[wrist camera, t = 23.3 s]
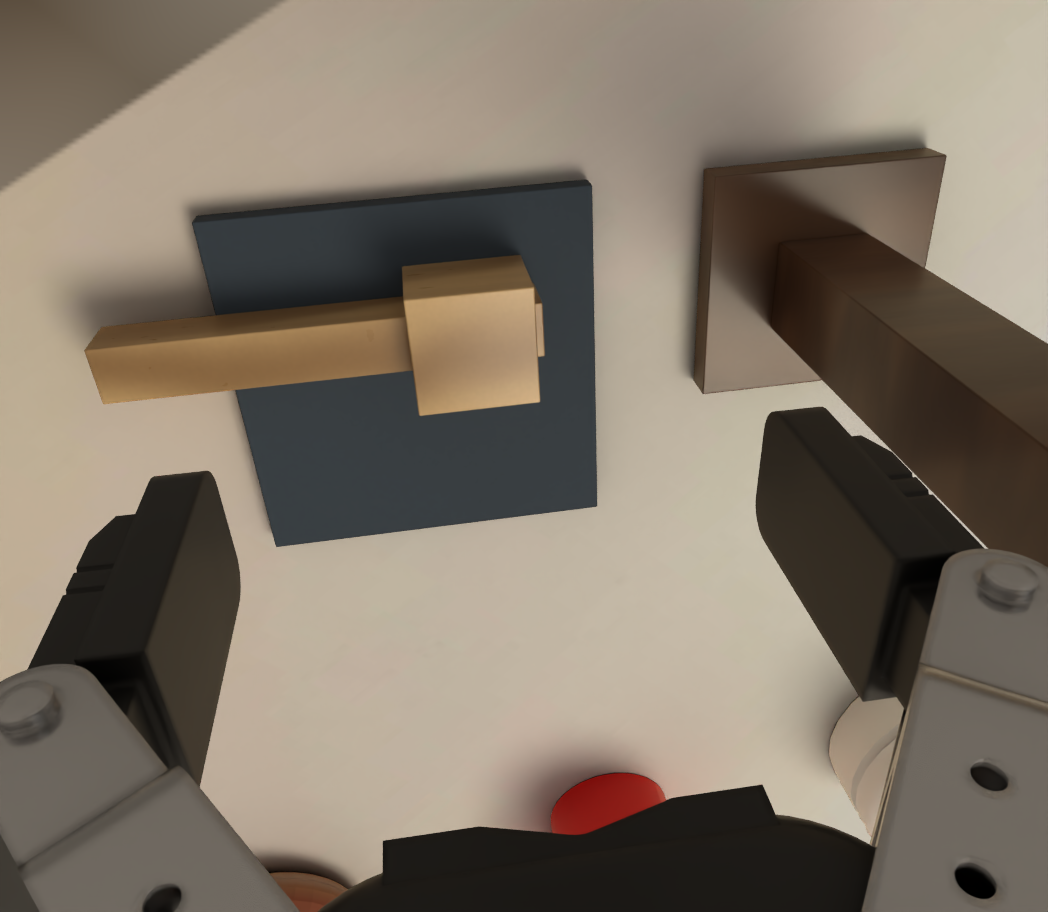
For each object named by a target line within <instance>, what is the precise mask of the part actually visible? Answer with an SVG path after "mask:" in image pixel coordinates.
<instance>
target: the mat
mask: <svg viewBox="0 0 1048 912" xmlns="http://www.w3.org/2000/svg"><path fill="white" fill-rule="evenodd" d="M192 225H193V229H194V233H195V236H196V240H197V244H198V248H199V252H200V256H201V259H202V263H203V267H204V271H205V275H206V279H207V283H208V286H209V290H210V294H211V298H212V302H213V306H214V310H215V313H216V315H224V314H234V313H244V312H254V311H264V310H274V309H284V308H293V307H303V306H313V305H323V304H333V303H343V302H353V301H362V300H372V299H382V298H392V297H402V296H403V281H402V267H403V266H411V265H421V264H432V263H442V262H452V261H462V260H472V259H482V258H493V257H503V256H513V255H521V257H522V260H523V262H524V265H525V267H526V269H527V272H528V274H529V276H530V279H531V281H532V283H534V285H535V287H536V290H537V292H538V294H539V297H540V299H541V301H542V305H543V326H544V347H545V356H541V357H538V367H539V386H540V402H538V403H529V404H520V405H511V406H502V407H494V408H485V409H476V410H467V411H458V412H450V413H441V414H432V415H423V416H420V415H419V412H418V405H417V398H416V390H415V383H414V376H413V371H404V372H395V373H385V374H376V375H367V376H358V377H349V378H340V379H330V380H321V381H312V382H303V383H294V384H284V385H275V386H266V387H257V388H248V389H239V390H236V394H237V398H238V402H239V406H240V410H241V414H242V417H243V421H244V425H245V429H246V433H247V437H248V441H249V444H250V448H251V452H252V456H253V460H254V464H255V467H256V471H257V475H258V479H259V483H260V487H261V491H262V494H263V498H264V502H265V506H266V510H267V514H268V518H269V521H270V525H271V529H272V533H273V537H274V541H275V545H276V547H280V546H288V545H296V544H304V543H312V542H320V541H328V540H336V539H344V538H352V537H360V536H367V535H375V534H383V533H391V532H399V531H407V530H415V529H423V528H431V527H439V526H447V525H455V524H463V523H471V522H478V521H486V520H494V519H502V518H510V517H518V516H526V515H534V514H542V513H550V512H558V511H566V510H574V509H581V508H589V507H596V506H597V465H596V402H595V339H594V277H593V214H592V185H591V184H590V183H589V181H588V180H578V181H567V182H556V183H546V184H535V185H524V186H513V187H503V188H492V189H481V190H470V191H460V192H449V193H438V194H427V195H416V196H406V197H395V198H384V199H373V200H363V201H352V202H341V203H330V204H320V205H309V206H298V207H287V208H277V209H266V210H255V211H244V212H234V213H223V214H212V215H201V216H197V217H196V218H195V219H194V221H193V222H192Z"/></svg>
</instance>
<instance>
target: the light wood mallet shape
mask: <svg viewBox="0 0 1048 912" xmlns="http://www.w3.org/2000/svg"><path fill="white" fill-rule="evenodd" d="M402 281H403V296H402V297H392V298H382V299H372V300H362V301H353V302H343V303H333V304H323V305H313V306H303V307H293V308H284V309H274V310H264V311H254V312H244V313H234V314H224V315H215V316H205V317H195V318H185V319H175V320H165V321H155V322H146V323H136V324H126V325H116V326H106V327H101V328H100V330H99V331H98V332H97V334H96V335H95V337H94V338H93V339H92V341H91V342H90V343H89V345H88V346H87V347H86V349H85V354H86V357H87V359H88V362H89V365H90V368H91V371H92V374H93V377H94V379H95V382H96V385H97V388H98V391H99V394H100V397H101V399H102V402H103V404H110V403H119V402H128V401H138V400H147V399H156V398H165V397H174V396H184V395H193V394H202V393H211V392H220V391H229V390H239V389H248V388H257V387H266V386H275V385H284V384H294V383H303V382H312V381H321V380H330V379H340V378H349V377H358V376H367V375H376V374H385V373H395V372H404V371H413V376H414V383H415V390H416V398H417V405H418V412H419V415H420V416H423V415H432V414H441V413H450V412H458V411H467V410H476V409H485V408H494V407H502V406H511V405H520V404H529V403H538V402H540V386H539V367H538V357H541V356H545V347H544V326H543V305H542V301H541V299H540V297H539V294H538V292H537V290H536V287H535V285H534V283H532V281H531V279H530V276H529V274H528V272H527V269H526V267H525V265H524V262H523V260H522V257H521V255H513V256H503V257H493V258H482V259H472V260H462V261H452V262H442V263H432V264H421V265H411V266H403V267H402Z"/></svg>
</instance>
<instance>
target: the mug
mask: <svg viewBox="0 0 1048 912" xmlns="http://www.w3.org/2000/svg"><path fill="white" fill-rule="evenodd" d="M664 801H666V798H665V795H664V793H663V791H662V790H661V788H660V787H659V786H658V785H657V784H656V783H655V782H653V781H652V780H650V779H648V778H646V777H643V776H640V775H636V774H629V773H614V774H606V775H601V776H598V777H594V778H591V779H588V780H586V781H584V782H581V783H580V784H578V785H576V786H574V787H573V788H571V789H570V790H569V791H567V792H566V793H565V794H564V795H563V796H562V797H561V798H560V799H559V800H558V801H557V803H556V805H555V807H554V808H553V811H552V814H551V828H552V833H557V834H569V835H579V834H585V833H588V832H592V831H594V830H596V829H599V828H601V827H604V826H606V825H608V824H611V823H613V822H616V821H618V820H620V819H623V818H625V817H628V816H630V815H632V814H635V813H637V812H640V811H642V810H645V809H647V808H649V807H652V806H654V805H657V804H659V803H661V802H664Z"/></svg>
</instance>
